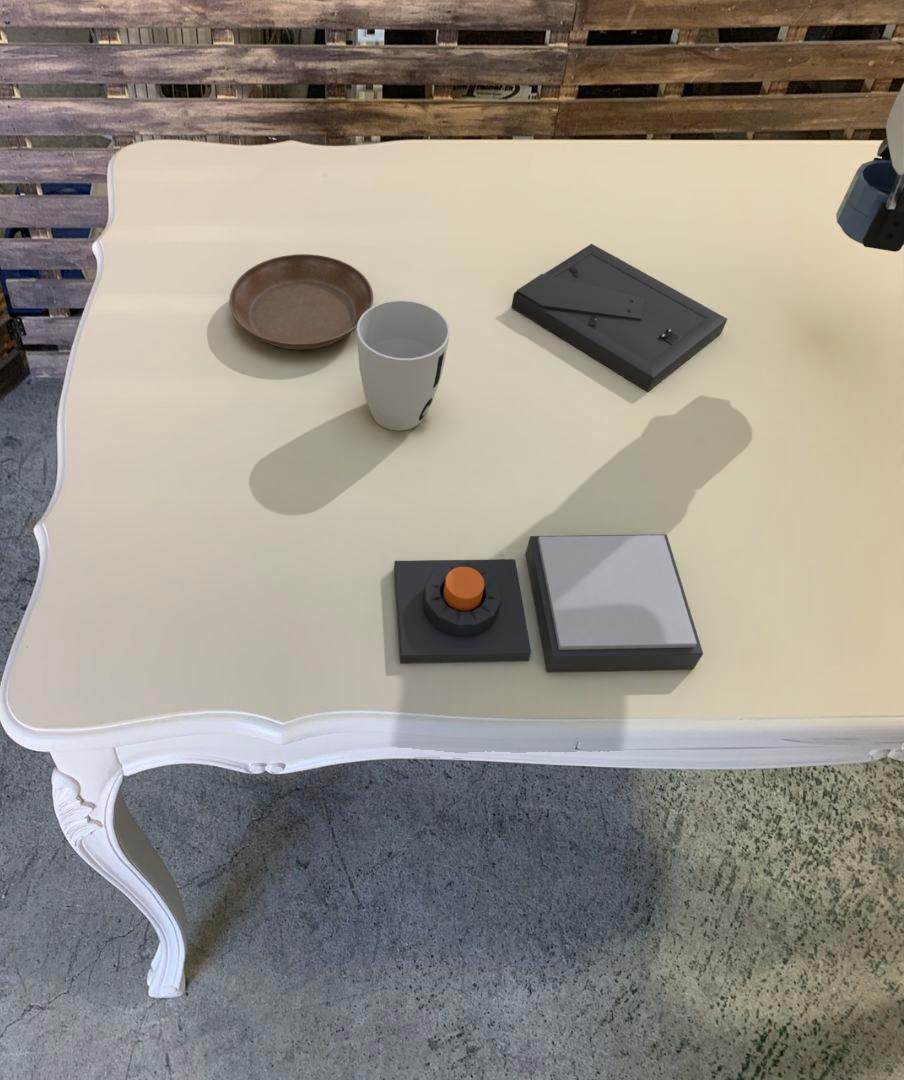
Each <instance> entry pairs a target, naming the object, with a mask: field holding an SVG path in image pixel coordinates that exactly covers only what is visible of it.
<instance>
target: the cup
mask: <svg viewBox="0 0 904 1080" xmlns="http://www.w3.org/2000/svg"><path fill="white" fill-rule="evenodd" d="M356 335H357V352H358V353H357V354H358V355H357V356H358V368H359V373H360V378H361V383H362V389H363V393H364V398H365V401H366V403H367V406H368V408H369V410H370V412H371V415H372V418H373V420H374V421H375V422H376V423H377V424H378V425H379V426H381V427H383V428H384V429H386V430H391V431H398V432H401V431H402V432H403V431H408V430H411V429H414V428H416V427H417V426H419V425H420V424H421V423H422V421H423V420H424V418H425V416H426V414H427V412H428V411H429V408H430V407H431V406H432V403H433V402H434V398H435V396H436V393H437V390H438V388H439V387H438V386H439V384H440V380H441V378H442V375H443V371H444V367H445V361H446V356H447V350H448V346H449V341H450V336H451V328H450V324H449V322H448V320H447V319H446V317H445V316H444V315H443V314H442V313H441V312H440V311H439V310H437V309H436V308H434V307H433V306H430V305H429V304H426V303H423V302H419V301H416V300H410V299H393V300H387V301H383V302H380V303H377V304H375V305H372V307H371V308H369V309H368V310H367V311H366V312H364V313H363V315H362V316H361V317H360V319H359V321H358V324H357V328H356Z"/></svg>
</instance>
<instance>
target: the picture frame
mask: <svg viewBox="0 0 904 1080" xmlns="http://www.w3.org/2000/svg"><path fill="white" fill-rule="evenodd" d="M510 307H511V309H513V310H514V311H516V312H518V313H520V314H521V315H523V316H524V317H526V318H528V319H530V320H531V321H533V322H534V323H536V324H538V325H539V326H541V327H542V328H544V329H545V330H547V331H549V332H551V333H552V334H554V335H555V336H557V337H559V338H560V339H562V340H564V341H565V342H567V343H568V344H570V345H571V346H573V347H575V348H576V349H578V350H580V351H581V352H583V353H584V354H586V355H588V356H589V357H591V358H592V359H595V360H596V361H598V362H600V363H601V364H602V365H604V366H606V367H607V368H608V369H610V370H612V371H613V372H616V373H617V374H618V375H620V376H622V377H623V378H625V379H627V380H628V381H630V382H632V383H633V384H635V385H637V386H638V387H639V388H641V389H643V390H644V391H646V392H650V391H652V390H653V389H654V388H655V387H656V386H657V385H659V384H660V383H661V382H663V380H665V379H666V378H667V377H669V376H670V375H671V374H672V373H674V372H675V371H676V370H677V369H679V368H680V367H681V366H683V365H684V364H685V363H686V362H687V361H689V360H690V359H691V358H692V357H694V356H695V355H696V354H697V353H699V352H700V351H701V350H703V349H704V348H705V347H706V346H708V345H709V344H710V343H712V342H713V341H714V340H715V339H716V338H717V337H719V336H721V334H722V333H723V330H724V328H725V326H726V323H727V321H728V317H727V318H726V317H725V316H723V315H721V314H720V313H718V312H716V311H715V310H713V309H711V308H709V307H707V306H705V305H703V304H702V303H700V302H698V301H696V300H694V299H693V298H691V297H689V296H687V295H685V294H683V292H680V291H678V290H676V289H675V288H673V287H671V286H669V285H667V284H665V283H664V282H661V281H660V280H658V279H656V278H654V277H653V276H652V275H649V274H648V273H646V272H644V271H643V270H640V269H638V268H636V267H635V266H633V265H631V264H629V263H628V262H626V261H624V260H622V259H621V258H618V257H617V256H615V255H613V254H612V253H609V252H607V251H606V250H604V249H602V248H601V247H599V246H597V245H595V244H593V243H590V244H588V245H586V247H584V248H582V249H581V250H579V251H578V252H576V253H575V254H573V255H571V256H569V257H568V258H566V259H565V260H563V261H561V262H560V263H559V264H557V265H555V266H554V267H553V268H551V269H550V270H548V271H546V272H544V273H541V274H539V275H537V276H536V277H535V278H533V279H532V280H530V281H529V282H527V283H526V284H524V285H522V286H521V287H519V288H518V289H517V290H516V291H515V292H513V296H512V303H511V306H510Z"/></svg>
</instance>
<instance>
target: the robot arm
mask: <svg viewBox="0 0 904 1080" xmlns="http://www.w3.org/2000/svg"><path fill="white" fill-rule="evenodd" d="M885 133H886V136H885V138H884V139H883V140H882V141H881V143H880V145H879V146H878V149H877V153H876V157H873V160H892V165H893V168H894V169H895V171H896V172H897V176H896V179H895V181H894V184H893V187H892V190H891V192H890V195H889V198H888V201H887V203H883V202H882V203H881V205H880V207H879V209H878V211H877V213H876V215H875V217H874V219H873V221H872V223H871V225H870V227H869V229H868V230H867V232H866V234H865V236H864V238H863V244H862V245H863V247H865V248H870V249H875V250H876V249H877V250H881V251H886V252H887V251H889V252H893V253H894V252H900V250H901V249H902V248H903V246H904V245H903V244H904V192H903V193H902V190H903V187H904V82H903V84H902V86H901V87H900V89H899V92H898V94H897V96H896V98H895V99H894V102H893V104H892V106H891V109H890V112H889V114H888V117H887V121H886V126H885Z"/></svg>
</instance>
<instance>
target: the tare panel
mask: <svg viewBox="0 0 904 1080" xmlns="http://www.w3.org/2000/svg"><path fill="white" fill-rule="evenodd" d="M457 567H470V568H473V569H475V570H476V571H478V572H479V573H480V574H481V575H482V577H483V579H484V584H485V585H484V590H483V594H482V599H481V602H480V603H479V605H478V606H477V607H475V608H474V609H472V610H468V611H460V610H456V609H454V608H452V607H451V606H449V605H448V604H447V602H446V601H445V599H444V595H443V592H444V586H445V580H446V576H447V574H448V573H449V572H450V571H451V570H453V569H455V568H457ZM393 576H394V590H395V591H394V592H395V605H396V621H397V622H396V623H397V636H398V649H399V663H400V664H413V663H414V664H421V663H425V664H426V663H429V664H430V663H475V662H477V663H478V662H481V663H482V662H483V663H484V662H528V661H530V658H531V655H532V650H531V645H530V639H529V633H528V628H527V621H526V616H525V609H524V604H523V597H522V593H521V592H522V591H521V586H520V580H519V573H518V569H517V562H516V559H515V558H501V559H500V558H497V559H496V558H495V559H494V558H493V559H492V558H491V559H490V558H489V559H430V560H429V559H428V560H426V559H425V560H424V559H423V560H422V559H421V560H394V564H393Z"/></svg>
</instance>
